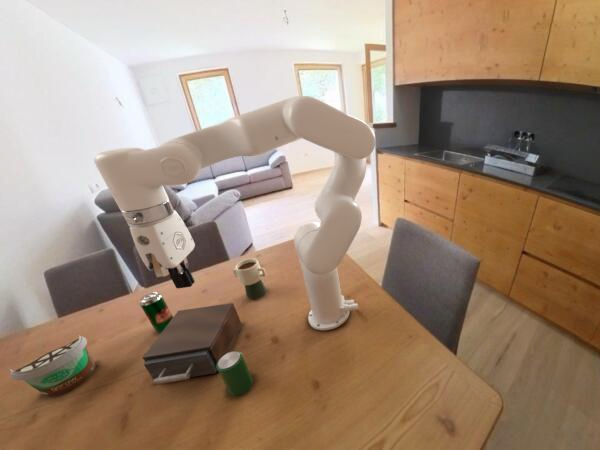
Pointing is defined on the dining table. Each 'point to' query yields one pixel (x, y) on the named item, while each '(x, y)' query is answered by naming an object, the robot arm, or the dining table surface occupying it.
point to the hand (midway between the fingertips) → (186, 285)
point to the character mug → (251, 277)
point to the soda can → (156, 310)
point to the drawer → (180, 366)
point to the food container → (58, 369)
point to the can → (234, 373)
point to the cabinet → (198, 332)
